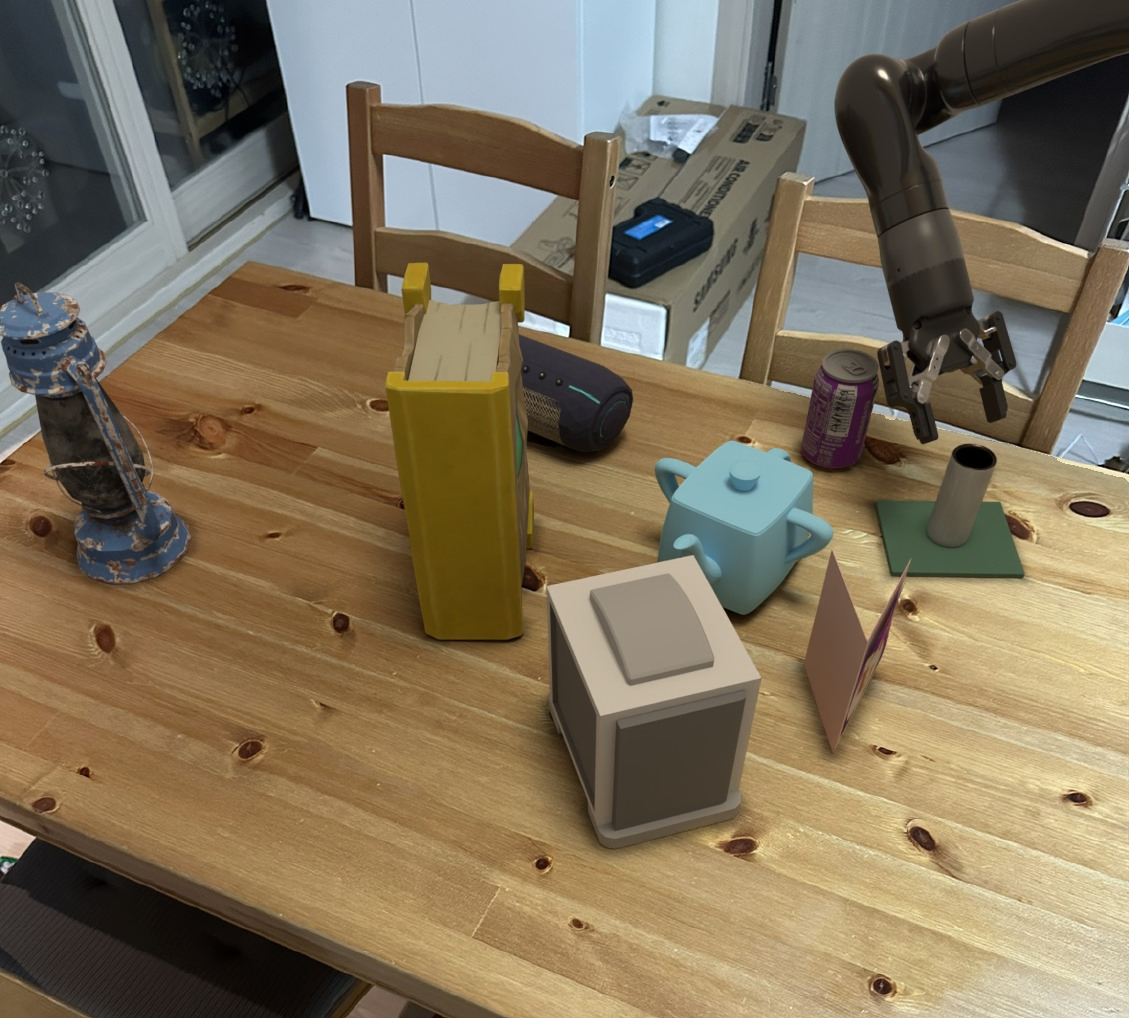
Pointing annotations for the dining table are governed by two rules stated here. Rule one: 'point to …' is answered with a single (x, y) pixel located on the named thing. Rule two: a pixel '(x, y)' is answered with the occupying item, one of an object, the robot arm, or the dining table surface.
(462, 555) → the decorative book
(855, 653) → the greeting card
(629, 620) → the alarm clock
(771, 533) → the teapot
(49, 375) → the lantern
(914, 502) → the green mat
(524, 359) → the portable speaker
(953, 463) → the planter
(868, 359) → the beverage can
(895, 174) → the robot arm
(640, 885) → the dining table surface
